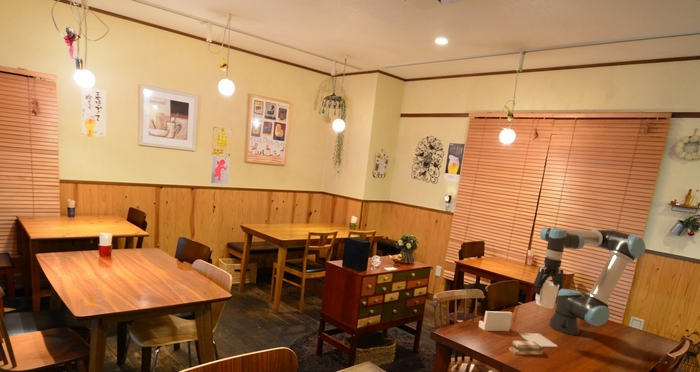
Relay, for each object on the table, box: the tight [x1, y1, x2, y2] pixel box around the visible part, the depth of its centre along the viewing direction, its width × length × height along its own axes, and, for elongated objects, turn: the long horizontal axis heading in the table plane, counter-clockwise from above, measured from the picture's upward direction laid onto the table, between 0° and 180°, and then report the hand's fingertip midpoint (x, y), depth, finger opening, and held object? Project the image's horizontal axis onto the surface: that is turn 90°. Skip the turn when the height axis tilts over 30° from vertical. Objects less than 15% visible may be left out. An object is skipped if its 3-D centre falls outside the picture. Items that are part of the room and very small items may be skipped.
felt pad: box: [518, 332, 559, 348], centre depth 192 cm, size 13×13×1 cm
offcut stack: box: [508, 340, 544, 355], centre depth 176 cm, size 16×5×4 cm, turn 106°
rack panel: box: [478, 310, 513, 332], centre depth 199 cm, size 16×5×10 cm, turn 106°
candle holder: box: [535, 279, 560, 310], centre depth 190 cm, size 10×10×12 cm
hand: (545, 300), depth 190 cm, fingers closed on candle holder, 9 cm apart
